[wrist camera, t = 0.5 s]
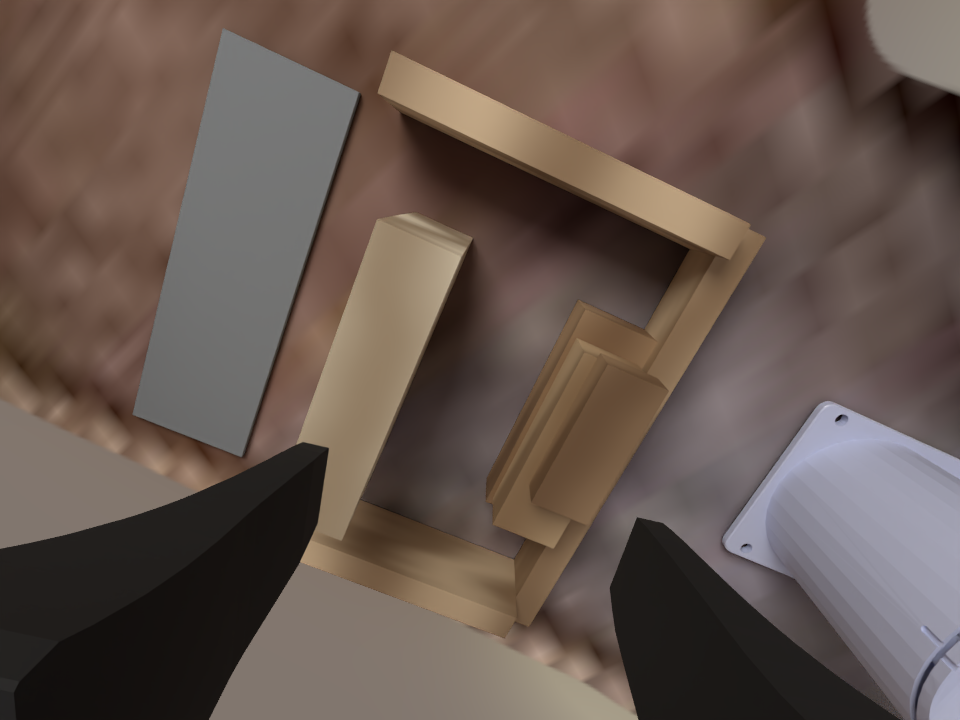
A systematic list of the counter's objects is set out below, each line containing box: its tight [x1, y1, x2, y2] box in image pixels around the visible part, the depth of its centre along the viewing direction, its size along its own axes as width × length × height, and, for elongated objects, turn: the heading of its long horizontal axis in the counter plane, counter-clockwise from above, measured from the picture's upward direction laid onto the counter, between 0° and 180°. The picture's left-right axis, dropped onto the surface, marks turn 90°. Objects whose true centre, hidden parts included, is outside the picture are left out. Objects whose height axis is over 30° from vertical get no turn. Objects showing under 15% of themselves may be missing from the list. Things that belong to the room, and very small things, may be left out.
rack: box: [300, 51, 766, 638], centre depth 19 cm, size 13×18×4 cm
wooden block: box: [296, 212, 473, 541], centre depth 18 cm, size 2×10×6 cm, turn 156°
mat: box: [133, 28, 361, 457], centre depth 20 cm, size 5×16×1 cm, turn 156°
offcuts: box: [486, 300, 669, 549], centre depth 19 cm, size 3×9×5 cm, turn 156°
